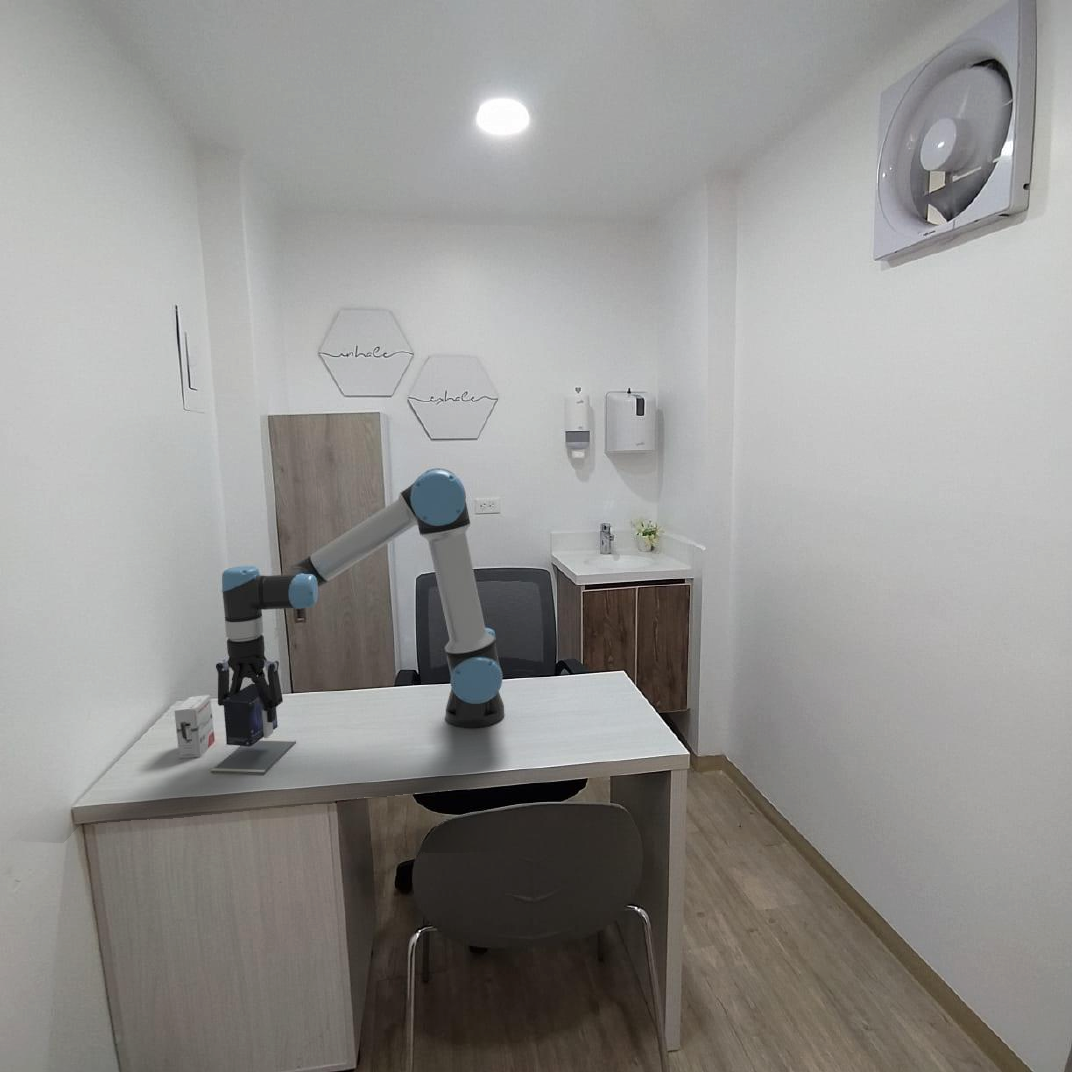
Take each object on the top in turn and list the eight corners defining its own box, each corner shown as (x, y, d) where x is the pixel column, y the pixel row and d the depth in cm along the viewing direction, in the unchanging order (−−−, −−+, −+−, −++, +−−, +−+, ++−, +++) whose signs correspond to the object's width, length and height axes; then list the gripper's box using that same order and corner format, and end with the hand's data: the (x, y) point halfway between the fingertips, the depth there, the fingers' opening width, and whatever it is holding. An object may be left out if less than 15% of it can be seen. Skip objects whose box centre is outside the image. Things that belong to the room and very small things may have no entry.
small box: (251, 747, 140) (247, 701, 138) (225, 745, 141) (220, 700, 140) (279, 726, 150) (276, 683, 149) (254, 725, 151) (250, 682, 150)
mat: (296, 742, 153) (295, 740, 153) (263, 774, 138) (263, 771, 138) (248, 741, 154) (248, 738, 154) (211, 773, 139) (210, 770, 139)
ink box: (194, 741, 155) (190, 695, 153) (215, 740, 155) (211, 694, 154) (178, 759, 146) (172, 709, 145) (200, 757, 147) (195, 708, 145)
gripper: (295, 632, 145) (302, 728, 148) (213, 631, 147) (221, 726, 150) (279, 642, 138) (286, 743, 141) (192, 640, 140) (202, 741, 143)
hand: (253, 734), depth 145 cm, fingers closed on small box, 7 cm apart
